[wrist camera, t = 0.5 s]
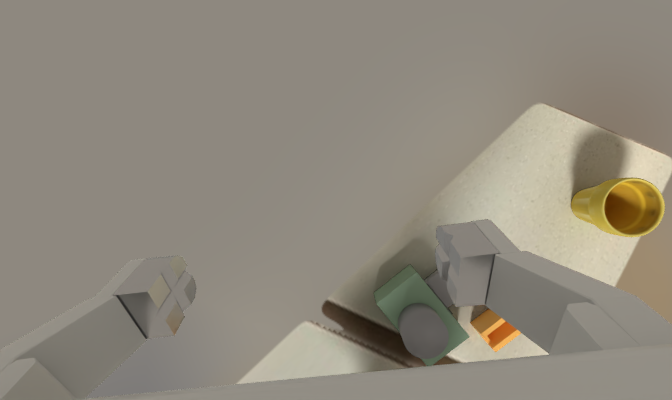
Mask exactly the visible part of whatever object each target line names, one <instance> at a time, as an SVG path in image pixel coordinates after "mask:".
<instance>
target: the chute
mask: <svg viewBox="0 0 672 400" xmlns="http://www.w3.org/2000/svg"><path fill="white" fill-rule="evenodd" d="M470 323H471V324H472V326H473V327H474V328H475V329H476V331H477V332H478V333H479V334H480V335H481V337H482V338H483V339H484V340H485V341H486V342H487V343H488V345H489V346H490V347H491V348H492V349H493V350H494V351H495V352H497V351H498V350H499V349H501V348H502V347H503V346H505V345H506V344H507V343H509V342H510V341H511V340H513V339H514V338H515V337H517V336H518V335H519V334H521V332H520V331H518V330H517V329H516V328H514V327H513V326H512V325H510V324H509V323H508V322H506V321H505V320H504V319H502V318H501V317H500V316H498V315H497V314H496V313H494V312H493V311H492V310H490V309H487V310H486V311H485V312H483V313H482V314H481V315H479V316H478V317H477V318H476V319H474V320H473V321H472V322H470Z"/></svg>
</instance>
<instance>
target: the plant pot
mask: <svg viewBox="0 0 672 400" xmlns="http://www.w3.org/2000/svg"><path fill="white" fill-rule="evenodd" d="M571 209H572V211H573V213H574V214H575V216H576V217H578V218H579V219H581V220H584V221H586V222H589V223H591V224H594V225H596V226H597V227H598V228H599V229H600V230H602V231H604V232H607V233H610V234H614V235H619V236H625V237H639V236H643V235H645V234H648V233H649V232H651V231H652V230H654V229H655V228H656V227H657V226H658V224H659V223H660V222H661V220H662V217H663V215H664V209H665V204H664V199H663V196H662V194H661V193H660V191H659V190H658V189H657V187H655V186H654V185H653V184H652V183H650V182H648V181H646V180H643V179H640V178H618V179H611V180H608V181H605V182H603V183H601V184H600V185H598V186H595V187H591V188H587V189H583V190H581V191H579V192H578V193H576V194H575V195H574V197H573V199H572V202H571Z"/></svg>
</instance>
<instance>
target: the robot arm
mask: <svg viewBox="0 0 672 400" xmlns="http://www.w3.org/2000/svg"><path fill="white" fill-rule="evenodd" d="M436 238H437V240H438V242H439V245H438V246H437V247H436V249H435V259H436V266H437V269H438V272H439V274H440V276H441V278H442V279H443V280H445V281H447V291H448V293H449V295H450V297H451V299H452V301H453V303H454V305H455V307H461V306H474V305H486V307H488V308H489V309H490V310H492V311H493V312H494V313H496V314H497V315H498V316H500V317H501V318H502V319H504V320H505V321H506V322H508V323H509V324H510V325H512V326H513V327H514V328H516V329H517V330H518V331H520V332H521V333H522V334H524V335H525V336H526V337H528V338H529V339H530V340H532V341H533V342H534V343H536V344H537V345H538V346H540V347H541V348H542V349H544V350H545V351H546V352H548V353H549V355H542V356H531V357H521V358H510V359H499V360H489V361H478V362H468V363H457V364H446V365H436V366H425V367H415V368H404V369H393V370H383V371H372V372H362V373H351V374H341V375H330V376H320V377H309V378H298V379H288V380H277V381H267V382H256V383H246V384H235V385H226V386H214V387H204V388H193V389H183V390H171V391H161V392H151V393H139V394H129V395H118V396H108V397H97V398H86V397H87V396H88V395H89V394H90V393H91V392H92V391H93V390H94V389H95V388H97V387H98V386H99V385H100V384H101V383H102V382H103V381H104V380H105V379H106V378H107V377H108V376H109V375H111V374H112V373H113V372H114V371H115V370H116V369H117V368H118V367H119V366H120V365H121V364H122V363H123V362H124V361H125V360H126V359H128V358H129V357H130V356H131V355H132V354H133V353H134V352H135V351H136V350H137V349H138V348H139V347H141V346H142V345H143V344H144V343H145V342H146V341H147V340H146V339H152V338H160V337H168V336H174V335H175V334H176V332H177V330H178V328H179V326H180V324H181V323H182V321H183V319H184V317H185V316H184V313H183V311H184V310H185V309H187V308H188V307H189V306H190V305H191V304H192V302H193V300H194V298H195V294H196V284H195V280H194V278H193V276H192V275H191V274H189V273H188V272H186V271H185V270H186V267H187V264H186V262H185V260H184V258H183V257H181V256H178V255H177V256H166V257H155V258H145V259H136V260H132V261H129V262H128V263H127V264H126V265H125V266H124V267H123V268H122V269H121V270H120V271H119V272H118V273H117V274H116V275H115V276H114V277H113V278H112V279H111V280H110V282H108V283H107V284H106V285H105V287H104V288H103V289H102V290H101V291H100V292H99V293H98V294H97V295H96V296H95V297H94V298H91V299H87V300H85V301H84V302H82V303H80V304H78V305H77V306H75V307H73V308H71V309H70V310H68V311H66V312H65V313H63V314H61V315H59V316H57V317H56V318H54V319H52V320H51V321H49V322H47V323H45V324H44V325H42V326H40V327H38V328H37V329H35V330H33V331H32V332H30V333H28V334H26V335H25V336H23V337H21V338H20V339H18V340H16V341H14V342H12V343H11V344H9V345H7V346H6V347H4V348H2V349H0V400H672V324H671V323H669V322H668V321H667V320H666V319H664V318H663V317H662V316H660V315H659V314H658V313H657V312H656V311H654V310H653V309H652V308H650V307H649V306H648V305H647V304H646V303H644V302H643V301H642V300H641V299H639V298H638V297H637V296H635V295H633V294H630V293H628V292H625V291H623V290H620V289H618V288H616V287H613V286H611V285H608V284H606V283H603V282H601V281H599V280H596V279H594V278H591V277H589V276H586V275H584V274H581V273H579V272H577V271H574V270H572V269H569V268H567V267H564V266H562V265H559V264H557V263H554V262H552V261H550V260H547V259H545V258H542V257H540V256H537V255H535V254H532V253H530V252H528V251H522V252H521V251H520V250H519V249H518V248H517V247H516V246H515V245H514V244H513V243H512V242H511V241H510V240H509V239H508V238H507V237H506V236H505V235H504V233H503V232H502V231H501V230H500V229H499V228H498V227H497V226H496V225H495V224H494V223H493V222H492V221H491V220H488V219H485V220H478V221H471V222H467V223H459V224H451V225H443V226H438V227H437V230H436ZM85 398H86V399H85Z"/></svg>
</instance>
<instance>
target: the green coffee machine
mask: <svg viewBox="0 0 672 400" xmlns="http://www.w3.org/2000/svg"><path fill="white" fill-rule="evenodd" d="M374 296H375V301H376V304H377V305H378V307H379V308H380V309H381V310H382V312H383V313H384V314H385V315H386V316H387V318H388V319H389V320H390V321H391V323H392V324H393V325H394V326H395V327H396V329H397V330H398V331H399V332H400V334H401V337H402V339H403V342H404V345H405V347H406V349H407V350H408V351H409V352H410V353H411V354H412V355H414V356H416V357H418V358H421V359H422V360H423V362H424V363H425V364H426V365H427V366H432V365H433V364H434V363H436V362H437V361H438V360H440V359H441V358H442V357H444V356H445V355H446V354H448V353H449V352H450V351H451V350H453V349H454V348H455V347H457V346H458V345H459V344H461V343H462V342H463V341H465V340H466V339H467V338H469V335H468V334H467V333H466V332H465V330H464V329H463V328H462V327H461V326H460V324H459V323H458V322H457V321H456V319H455V318H454V317H453V316H452V313H451V311H450V310H449V309H448V307H450V306H451V305H452V304H454V303H453V301H452V299H451V297H450V295H449V293H448V291H447V281H445V280H443V279H442V278H441V276H440V274H439V272H438V270H436V271H435V272H434V273H432V274H431V275H430V276H429V277H427V278H426V279H425V280H423V279H422V278H421V277H420V276H419V274H418V273H417V272H416V271H415V270H414V268H413V267H412V266H411V265H408V266H407V267H406V268H405V269H403V270H402V271H401V272H400V273H398V274H397V275H396V276H395V277H393V278H392V279H391V280H389V281H388V282H387V283H386V284H384V285H383V286H382V287H381V288H379V289H378V290H377V291H376V292H374Z"/></svg>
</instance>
